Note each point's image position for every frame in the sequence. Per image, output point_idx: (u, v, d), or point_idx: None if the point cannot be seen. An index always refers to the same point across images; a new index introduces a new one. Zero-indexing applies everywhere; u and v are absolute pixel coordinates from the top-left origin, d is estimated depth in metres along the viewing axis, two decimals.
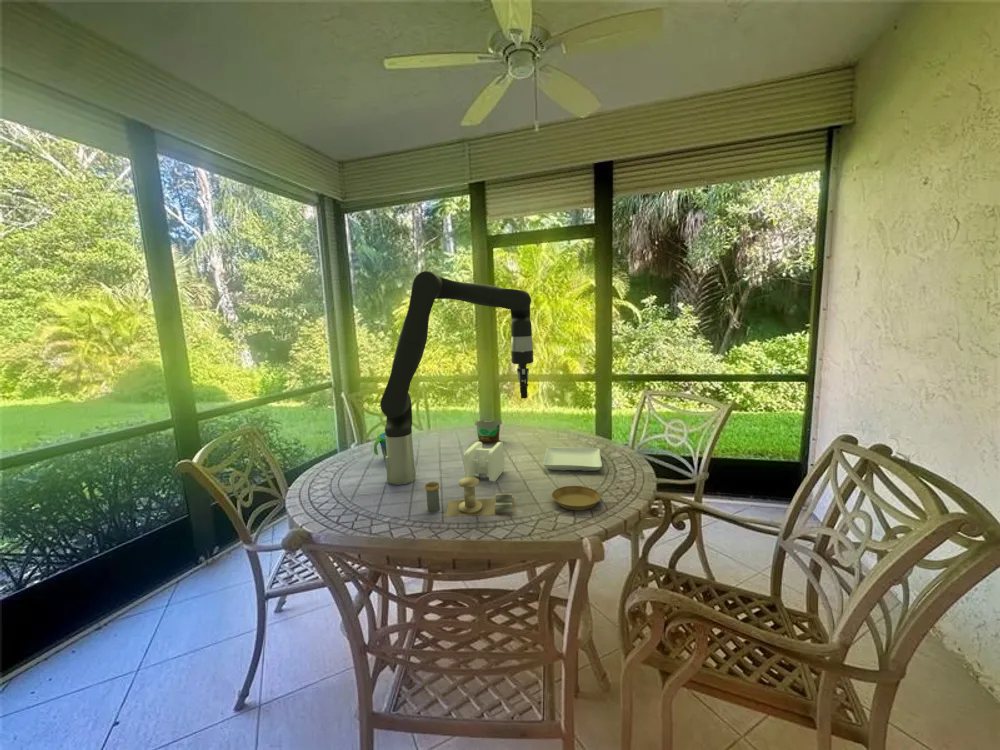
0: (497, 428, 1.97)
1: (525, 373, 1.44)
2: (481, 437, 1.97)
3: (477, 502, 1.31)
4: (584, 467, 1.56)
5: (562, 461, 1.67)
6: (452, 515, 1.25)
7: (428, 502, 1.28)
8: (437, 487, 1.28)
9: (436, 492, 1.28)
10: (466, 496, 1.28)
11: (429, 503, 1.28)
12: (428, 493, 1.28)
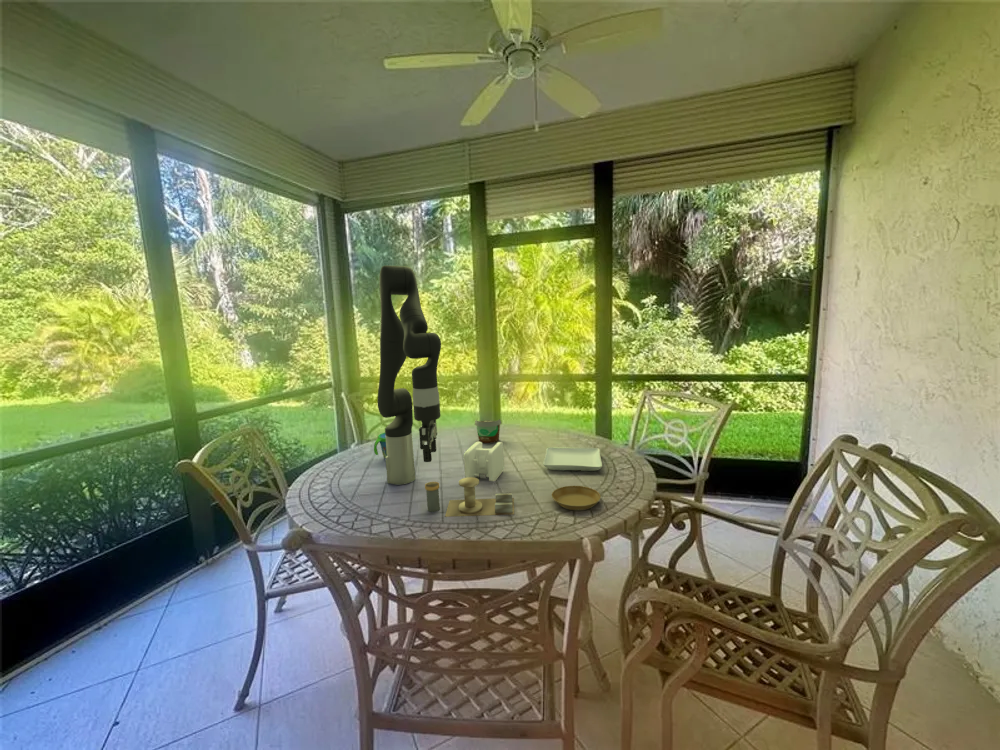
0: (497, 428, 1.97)
1: (426, 434, 1.19)
2: (481, 437, 1.97)
3: (477, 502, 1.31)
4: (584, 467, 1.56)
5: (562, 461, 1.67)
6: (452, 515, 1.25)
7: (428, 502, 1.28)
8: (437, 487, 1.28)
9: (436, 492, 1.28)
10: (466, 496, 1.28)
11: (429, 503, 1.28)
12: (428, 493, 1.28)
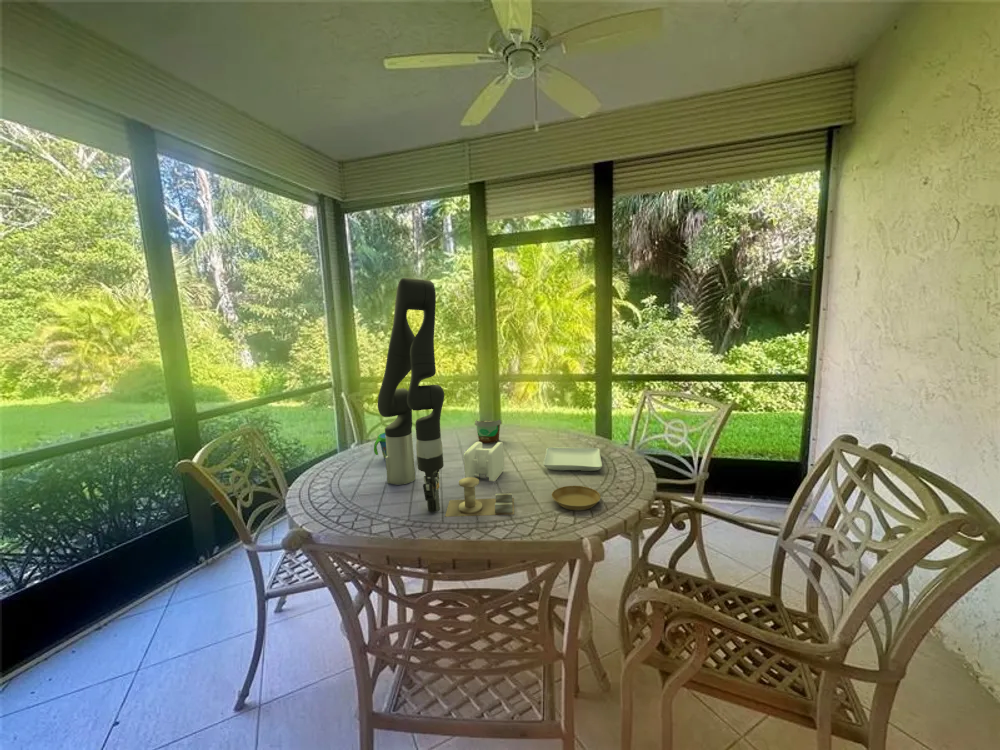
0: (497, 428, 1.97)
1: (430, 489, 1.22)
2: (481, 437, 1.97)
3: (477, 502, 1.31)
4: (584, 467, 1.56)
5: (562, 461, 1.67)
6: (452, 515, 1.25)
7: None
8: (437, 487, 1.28)
9: (436, 492, 1.28)
10: (466, 496, 1.28)
11: None
12: None
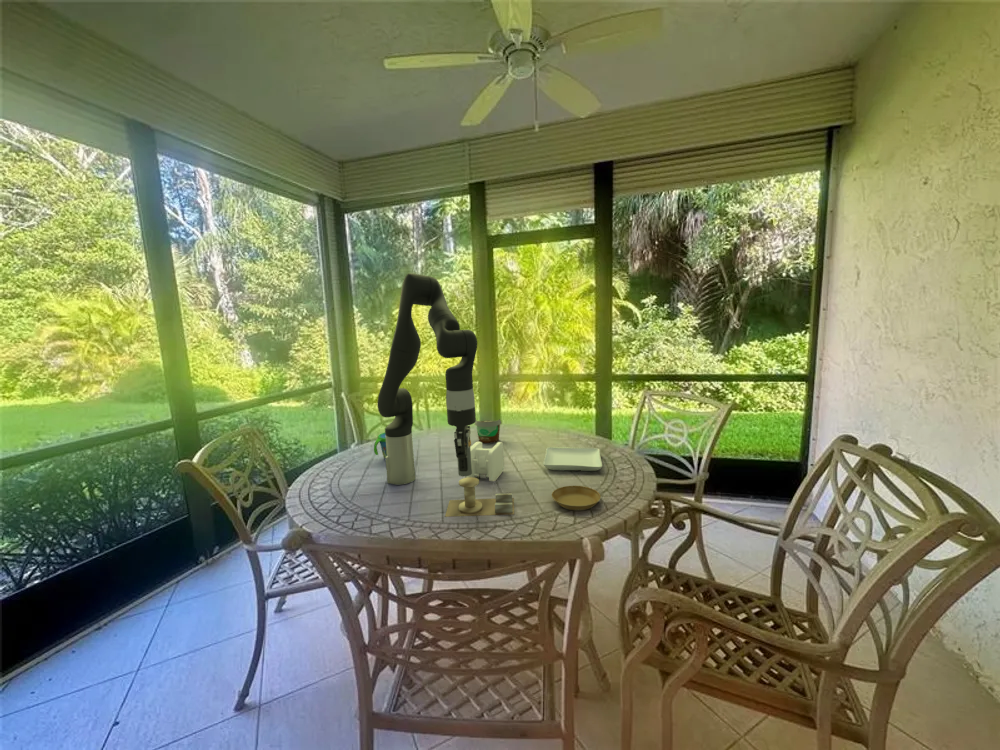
0: (497, 428, 1.97)
1: (462, 445, 1.10)
2: (481, 437, 1.97)
3: (477, 502, 1.31)
4: (584, 467, 1.56)
5: (562, 461, 1.67)
6: (452, 515, 1.25)
7: None
8: (469, 444, 1.15)
9: (468, 450, 1.16)
10: (466, 496, 1.28)
11: None
12: None
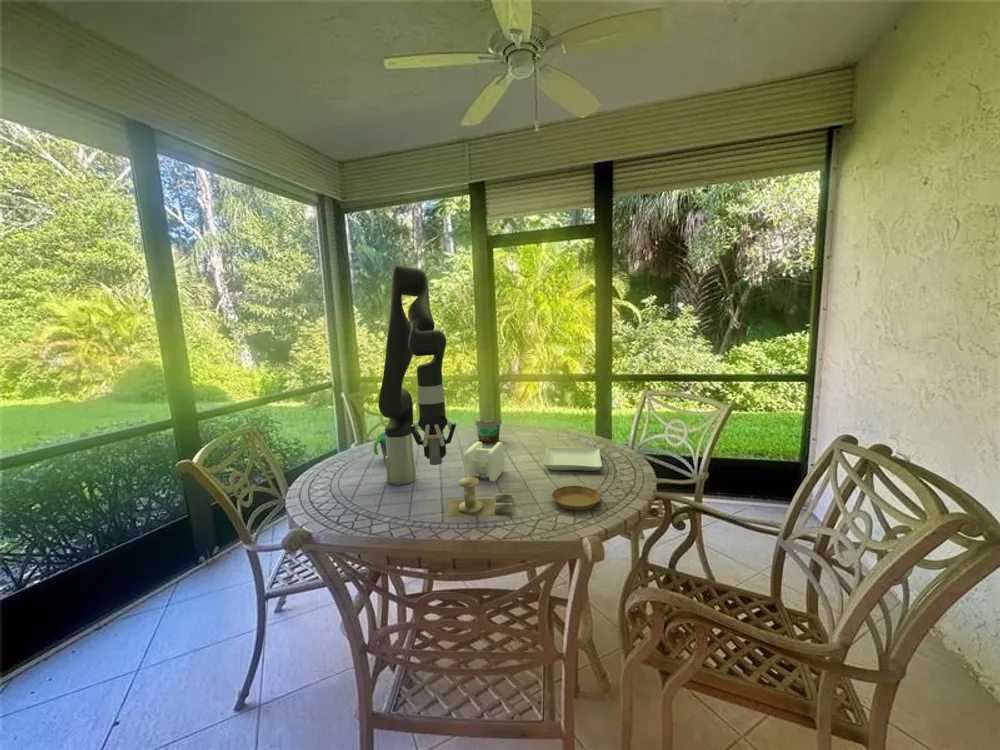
0: (497, 428, 1.97)
1: None
2: (481, 437, 1.97)
3: (477, 502, 1.31)
4: (584, 467, 1.56)
5: (562, 461, 1.67)
6: (452, 515, 1.25)
7: None
8: (429, 436, 1.25)
9: (429, 442, 1.25)
10: (466, 496, 1.28)
11: None
12: None
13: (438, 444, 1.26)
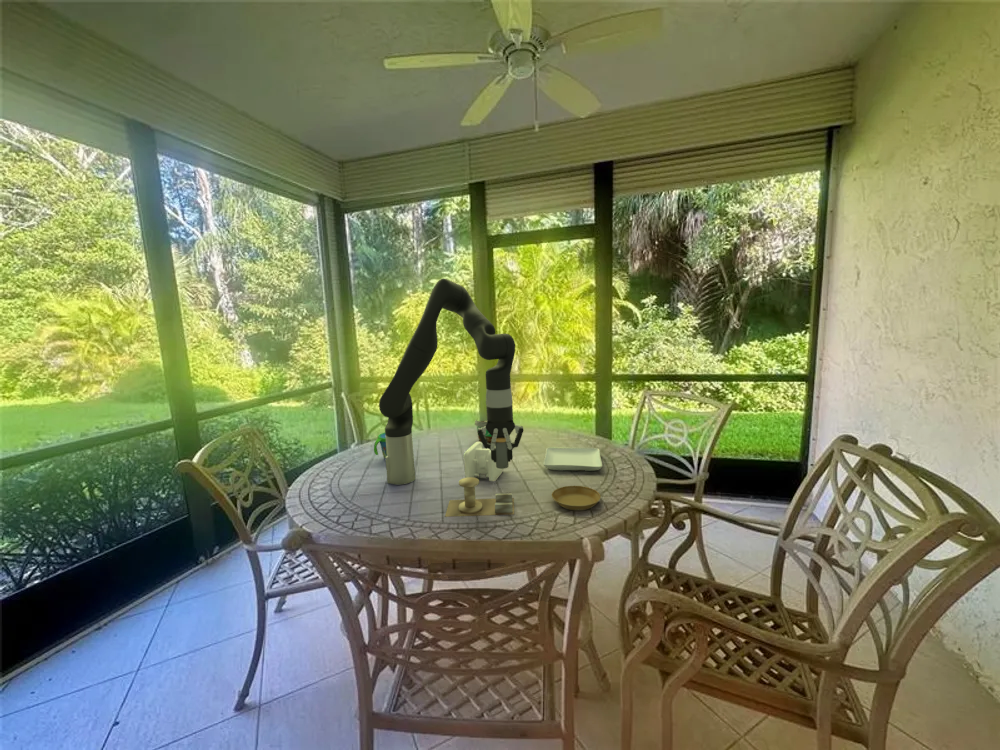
0: None
1: None
2: None
3: (477, 502, 1.31)
4: (584, 467, 1.56)
5: (562, 461, 1.67)
6: (452, 515, 1.25)
7: None
8: (497, 440, 1.25)
9: (497, 445, 1.25)
10: (466, 496, 1.28)
11: None
12: None
13: (505, 448, 1.25)
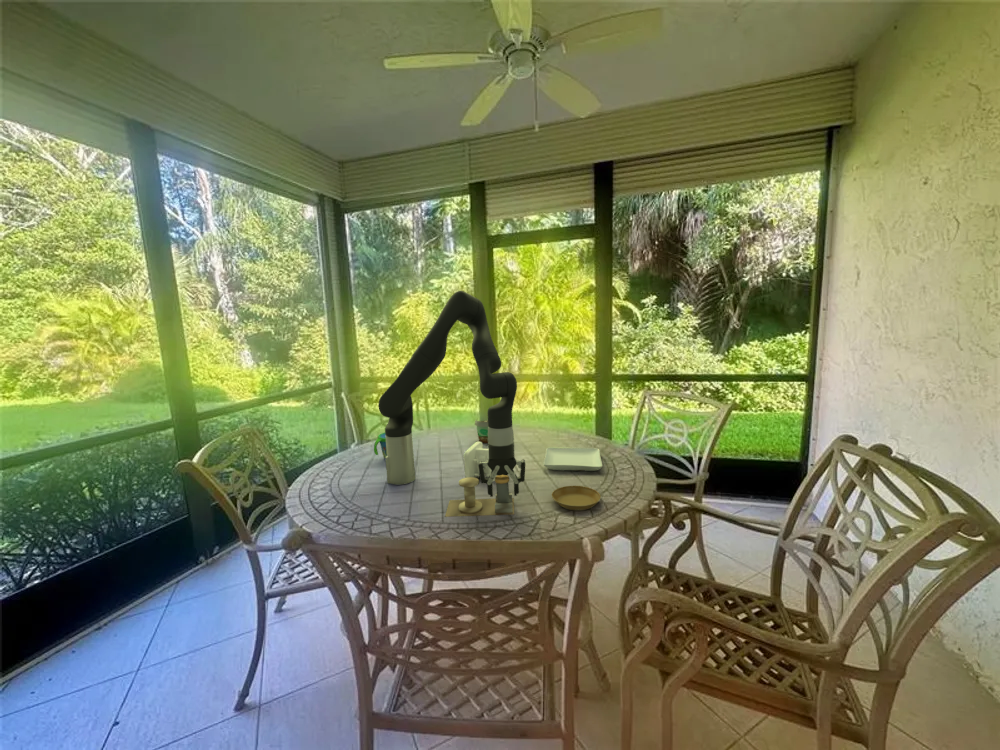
0: None
1: None
2: (481, 437, 1.97)
3: (477, 502, 1.31)
4: (584, 467, 1.56)
5: (562, 461, 1.67)
6: (452, 515, 1.25)
7: None
8: (498, 481, 1.26)
9: (498, 486, 1.27)
10: (466, 496, 1.28)
11: None
12: None
13: (506, 488, 1.27)
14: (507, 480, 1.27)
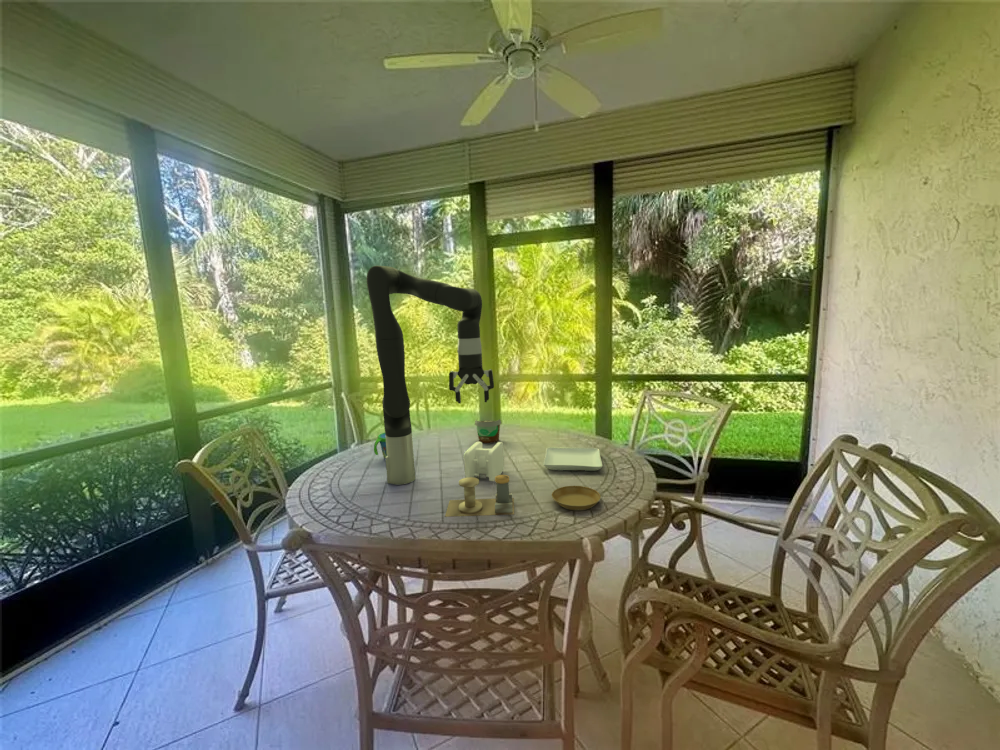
0: (497, 428, 1.97)
1: None
2: (481, 437, 1.97)
3: (477, 502, 1.31)
4: (584, 467, 1.56)
5: (562, 461, 1.67)
6: (452, 515, 1.25)
7: None
8: (498, 481, 1.26)
9: (498, 486, 1.27)
10: (466, 496, 1.28)
11: None
12: None
13: (507, 488, 1.27)
14: (507, 480, 1.27)
